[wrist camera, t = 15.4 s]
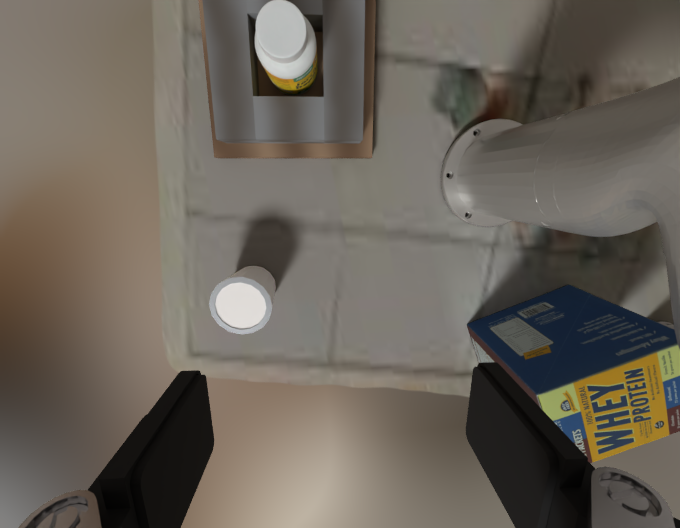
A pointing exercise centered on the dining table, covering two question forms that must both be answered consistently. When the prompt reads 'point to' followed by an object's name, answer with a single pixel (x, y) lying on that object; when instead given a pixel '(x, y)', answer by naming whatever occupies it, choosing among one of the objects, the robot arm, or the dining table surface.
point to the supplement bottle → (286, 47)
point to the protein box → (588, 367)
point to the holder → (281, 109)
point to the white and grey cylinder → (244, 300)
